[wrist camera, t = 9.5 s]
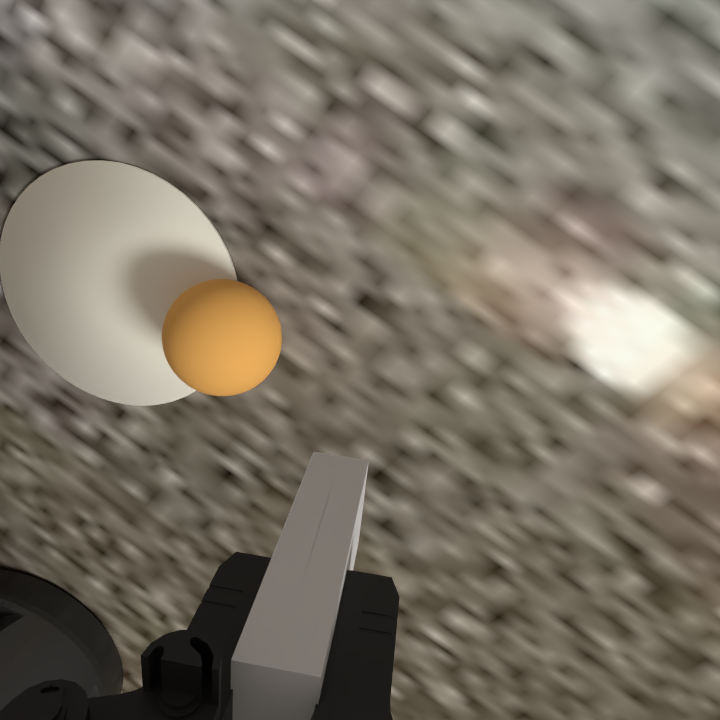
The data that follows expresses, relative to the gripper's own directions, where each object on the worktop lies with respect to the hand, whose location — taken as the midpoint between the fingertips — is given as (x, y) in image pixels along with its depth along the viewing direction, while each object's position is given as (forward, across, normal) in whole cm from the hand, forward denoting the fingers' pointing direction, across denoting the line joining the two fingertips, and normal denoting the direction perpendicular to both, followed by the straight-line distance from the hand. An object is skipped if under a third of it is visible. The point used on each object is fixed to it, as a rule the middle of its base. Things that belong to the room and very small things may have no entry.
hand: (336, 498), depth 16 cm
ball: (+12, +7, +1) cm, 14 cm away
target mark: (+14, +14, 0) cm, 20 cm away
